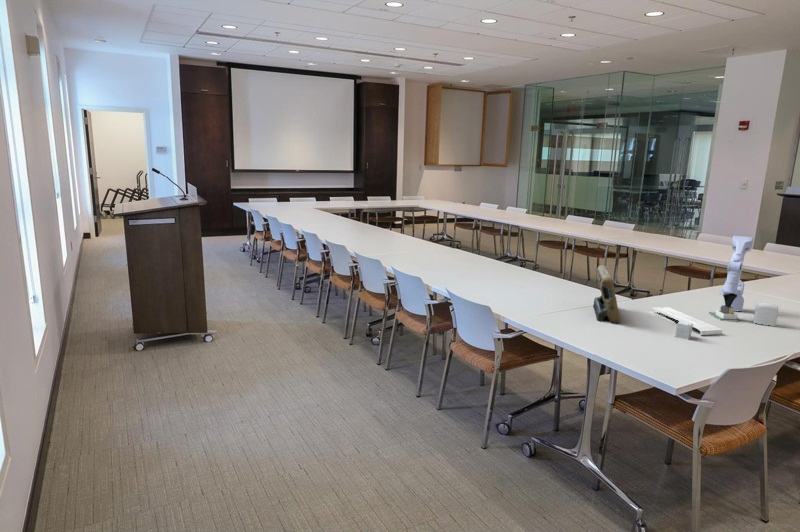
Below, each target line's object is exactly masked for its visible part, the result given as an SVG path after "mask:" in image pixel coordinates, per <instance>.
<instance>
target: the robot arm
mask: <svg viewBox="0 0 800 532" xmlns="http://www.w3.org/2000/svg"><path fill="white" fill-rule="evenodd" d="M753 244H754V238H753V237H752V236H751V237H750V236H743V235H742V236H741V235H733V237H732V240H731V249H732V250H734V252H733V253H732V255H731V258H730V261H728V264H727V273H726V274H727V276H726V280H725V282H724V284H723V289H722V290H720V291H719V295H720V296H723V304H722V306H723V305H725V306H727V307H730V306H731V307H733V310H732V312H734V311H737V310H738V311H743V309H744V304H745V299H744V297H743V295H744V289H745V283H744V282H743V281H742V280H741V276H742V271H743V267H744V261H745V255H746V254H747V253H748V252H751V250H752V247H753Z"/></svg>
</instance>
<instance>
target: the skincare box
mask: <svg viewBox="0 0 800 532" xmlns="http://www.w3.org/2000/svg"><path fill="white" fill-rule="evenodd" d="M677 322H678V321H677ZM693 328H694V327H693V323H690V322H686V321H681V320H680V321H679V322H678V323H676V328H675V335H674V337H676V338H679V339H683V340H687V341H688V340H689V339H690V338H691V337H692V331H693Z"/></svg>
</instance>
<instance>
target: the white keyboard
mask: <svg viewBox="0 0 800 532" xmlns="http://www.w3.org/2000/svg"><path fill="white" fill-rule="evenodd" d="M650 309H651V310H652V311H648V313H650V314H652V315H654V316H656V315H657V316H656V317H658V316H659V317H658V318H660V317H666V316H669V317H671V318H673V319H675V321H676V320H678V321H680V320H681V321H686V322H690V323H693V327H692V328H695V329H697V330H698V331H699V333H700V334H699V336H718V335H719V334H720V335H722V334H723V330H722V329H721V328H720V327H718V326H715V325H713V324H710V323H707V322H705V321H702V320H700V319H698V318H695V317H693V316H691V315H688V314H685V313H683V312H681V311H679V310H676V309H673V308H671V307H669V306H663V307H659V306H658V307H650ZM657 312H658V313H660V314H658V313H657ZM664 315H665V316H664ZM669 317H668V318H669ZM671 318H670V319H671ZM673 319H672V320H673ZM678 321H677V322H678ZM720 335H719V336H720Z"/></svg>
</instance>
